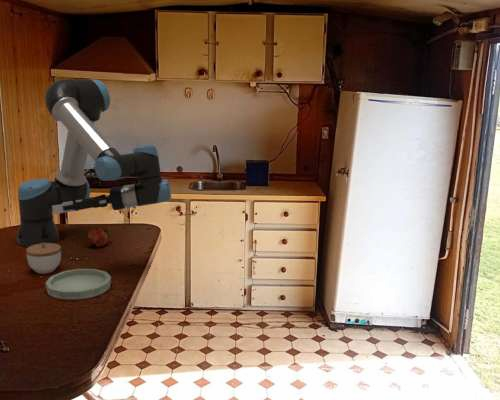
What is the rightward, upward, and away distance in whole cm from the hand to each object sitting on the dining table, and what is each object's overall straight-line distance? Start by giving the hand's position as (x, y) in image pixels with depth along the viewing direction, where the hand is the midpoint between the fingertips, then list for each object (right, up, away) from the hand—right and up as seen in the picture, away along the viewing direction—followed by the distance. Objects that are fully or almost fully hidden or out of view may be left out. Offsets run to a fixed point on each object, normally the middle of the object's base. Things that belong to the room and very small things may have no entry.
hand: (58, 208), depth 172 cm
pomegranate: (+5, -15, +27) cm, 31 cm away
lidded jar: (-5, -21, +2) cm, 21 cm away
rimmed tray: (+11, -24, -11) cm, 29 cm away
